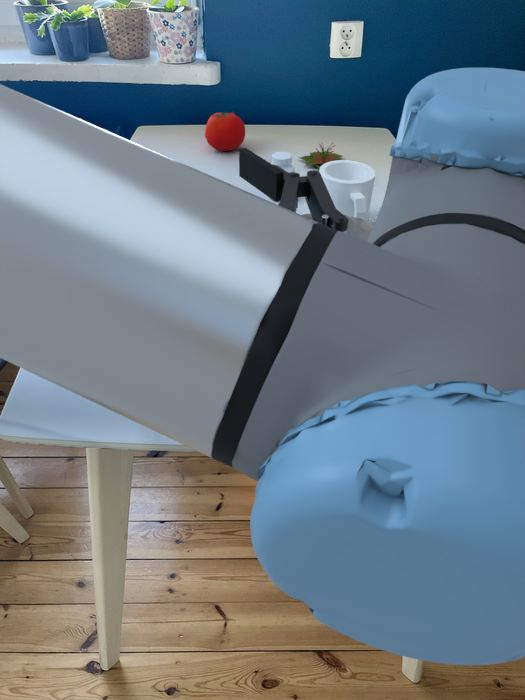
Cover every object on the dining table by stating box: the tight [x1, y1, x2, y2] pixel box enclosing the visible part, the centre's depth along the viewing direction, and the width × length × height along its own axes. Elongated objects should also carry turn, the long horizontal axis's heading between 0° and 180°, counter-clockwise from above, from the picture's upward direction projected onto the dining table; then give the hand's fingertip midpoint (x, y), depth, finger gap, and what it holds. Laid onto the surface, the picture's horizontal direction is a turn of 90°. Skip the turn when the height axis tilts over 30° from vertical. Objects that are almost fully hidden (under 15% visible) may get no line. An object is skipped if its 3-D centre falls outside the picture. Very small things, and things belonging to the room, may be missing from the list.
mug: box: [318, 159, 376, 221], centre depth 100 cm, size 14×10×11 cm
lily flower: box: [298, 142, 345, 170], centre depth 125 cm, size 12×12×5 cm
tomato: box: [204, 111, 246, 152], centre depth 129 cm, size 9×10×8 cm
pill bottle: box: [269, 151, 296, 203], centre depth 110 cm, size 5×5×9 cm
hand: (179, 177), depth 50 cm, fingers open, 13 cm apart
